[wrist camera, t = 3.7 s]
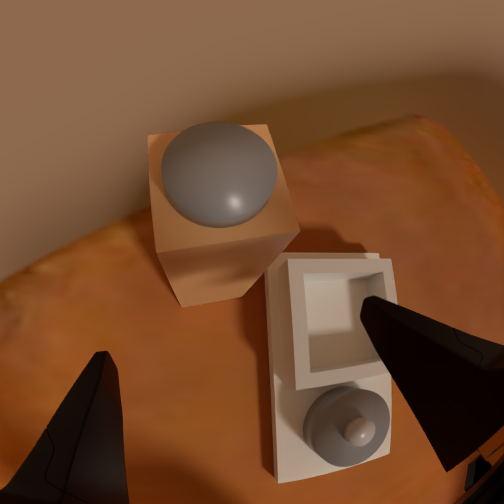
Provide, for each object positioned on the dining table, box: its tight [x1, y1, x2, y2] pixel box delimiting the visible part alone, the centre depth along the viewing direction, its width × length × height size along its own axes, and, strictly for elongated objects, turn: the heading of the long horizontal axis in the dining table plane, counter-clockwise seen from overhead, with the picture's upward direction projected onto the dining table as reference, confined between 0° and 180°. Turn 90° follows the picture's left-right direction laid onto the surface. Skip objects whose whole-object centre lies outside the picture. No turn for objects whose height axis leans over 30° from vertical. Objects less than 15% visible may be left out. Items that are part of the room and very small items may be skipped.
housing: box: [264, 252, 397, 484], centre depth 18 cm, size 18×10×5 cm, turn 3°
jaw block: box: [147, 122, 300, 308], centre depth 15 cm, size 4×4×14 cm
